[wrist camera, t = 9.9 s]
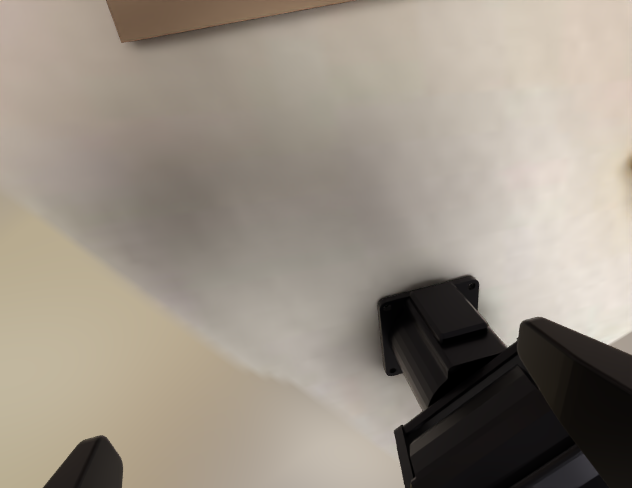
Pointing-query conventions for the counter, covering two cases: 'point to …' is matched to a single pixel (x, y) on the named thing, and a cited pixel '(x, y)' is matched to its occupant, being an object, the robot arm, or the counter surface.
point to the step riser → (195, 14)
